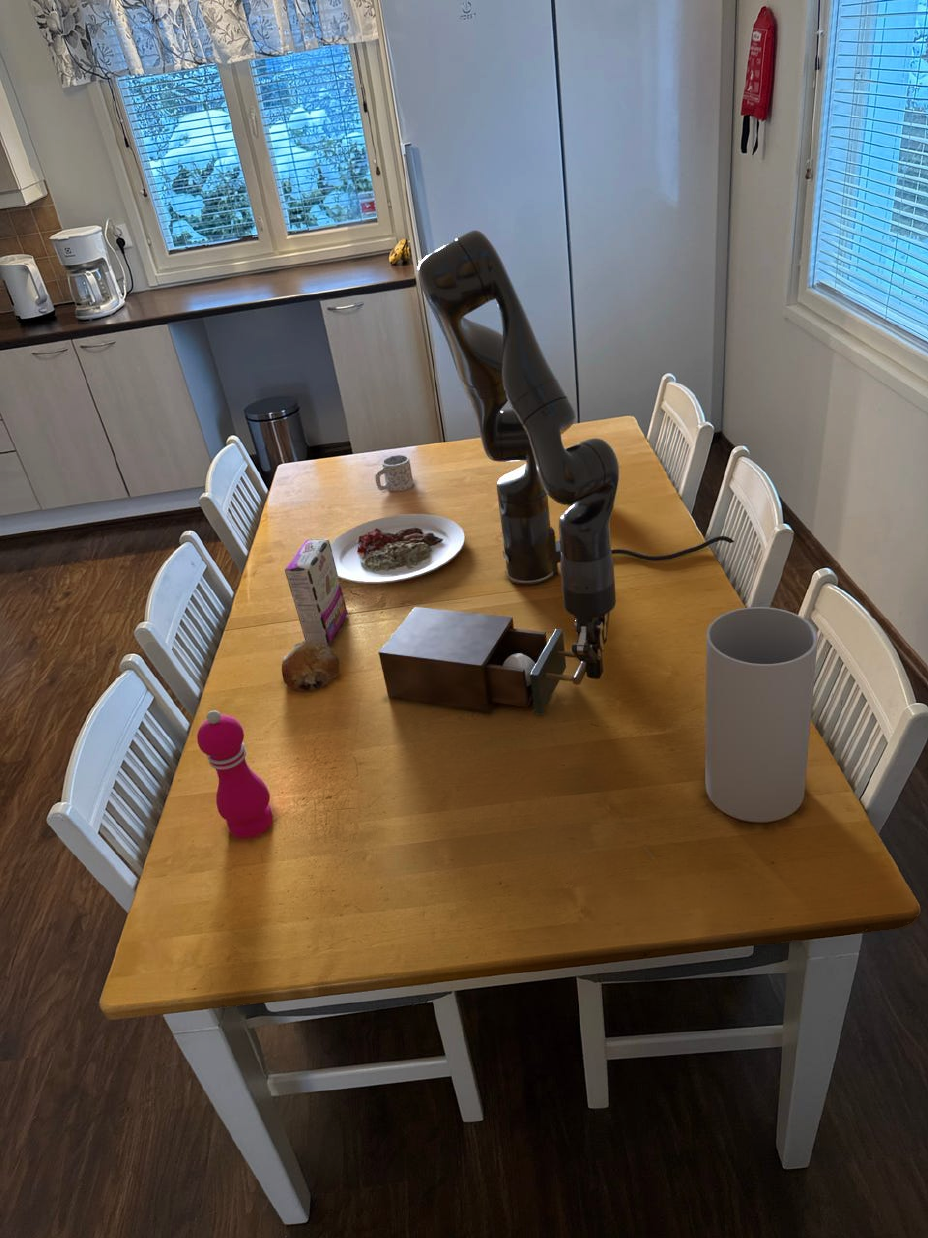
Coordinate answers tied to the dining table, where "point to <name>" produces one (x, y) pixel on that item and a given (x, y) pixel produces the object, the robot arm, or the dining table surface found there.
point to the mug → (395, 473)
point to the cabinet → (442, 658)
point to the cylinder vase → (758, 711)
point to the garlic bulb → (521, 664)
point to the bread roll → (309, 666)
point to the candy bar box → (316, 591)
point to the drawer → (544, 677)
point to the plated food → (396, 548)
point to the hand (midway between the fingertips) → (595, 675)
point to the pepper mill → (235, 777)
